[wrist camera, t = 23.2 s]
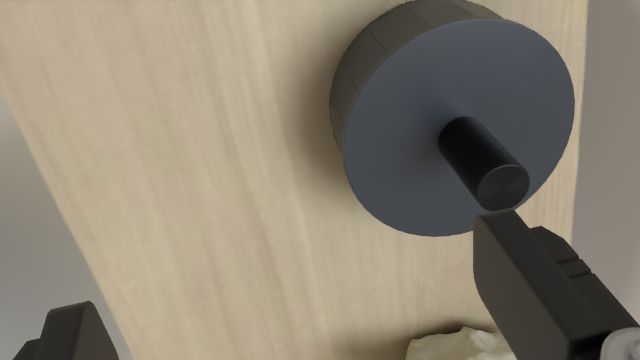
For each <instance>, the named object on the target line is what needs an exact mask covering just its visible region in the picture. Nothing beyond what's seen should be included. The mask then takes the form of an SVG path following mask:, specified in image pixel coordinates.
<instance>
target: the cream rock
mask: <svg viewBox="0 0 640 360" xmlns="http://www.w3.org/2000/svg"><path fill="white" fill-rule="evenodd" d="M405 360H517V358H516V357H515V355H514V353H513V352H512V350H511V348H510V347H509V345H508V343H507V342H506V340H505V338H504V336H503V335H502V334H500V333H487V332H485V331H481V330H474V329H472V328H468V327H462V328H461V330H460V331H459V332H457V333H452V334H445V335H444V334H440V333H438V334H436V335H429V336H425V337H423V338H422V339H412V340H411V341H410V344H409V346H408V349H407V356H406V358H405Z"/></svg>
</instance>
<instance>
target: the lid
mask: <svg viewBox="0 0 640 360" xmlns="http://www.w3.org/2000/svg"><path fill="white" fill-rule="evenodd" d="M574 108H575V99H574V89H573V85H572V81H571V77H570V74H569V72H568V69H567V67H566V65H565V62H564V61H563V59H562V58H561V56H560V55H559V53H558V52H557V50H556V49H555V48H554V47H553V46H552V45H551V44H550V43H549V42H548V41H547V40H546V39H544V38H543V37H542V36H540V35H539V34H538V33H536V32H535V31H533V30H531V29H529V28H527V27H526V26H524V25H522V24H520V23H516V22H513V21H510V20H507V19H503V18H497V17H491V16H472V17H463V18H456V19H453V20H449V21H445V22H441V23H438V24H436V25H433V26H431V27H428V28H426V29H423V30H422V31H420V32H418V33H416V34H414V35H412V36H410V37H409V38H407V39H406V40H404V41H403V42H401V43H400V44H399V45H397V46H396V47H394V48H393V49H392V50H391V51H390V52H389V53H388V54H386V55H385V56H384V57H383V58H382V59H381V60H380V61H379V62H378V63H377V64H376V66H375V67H374V68H373V69H372V70H371V71H370V72H369V74H368V75H367V77H366V78H365V80H364V81H363V82H362V84H361V85H360V87H359V89H358V91H357V93H356V95H355V96H354V98H353V100H352V103H351V105H350V108H349V111H348V113H347V116H346V120H345V124H344V129H343V137H342V159H343V164H344V169H345V173H346V176H347V179H348V181H349V184H350V186H351V188H352V190H353V192H354V194H355V196H356V197H357V199H358V200H359V201H360V203H361V204H362V205H363V207H364V208H365V209H366V210H367V211H368V212H369V213H371V214H372V215H373V216H374V217H375V218H377V219H378V220H380V221H381V222H382V223H384V224H386V225H388V226H390V227H392V228H394V229H396V230H399V231H402V232H405V233H409V234H414V235H419V236H432V237H437V236H450V235H457V234H462V233H466V232H470V231H473V222H474V218H475V216H477V215H481V214H485V213H490V212H494V211H499V210H503V209H508V208H511V209H513V210H515V209H517V208H518V207H519V206H521V205H522V204H523V203H524V202H526V201H527V200H528V199H529V198H530V197H531V196H532V195H533V194H534V193H535V192H536V191H537V190H538V189H539V188H540V187H541V186H542V185H543V184H544V182H545V181H546V180H547V179H548V177H549V176H550V174H551V173H552V172H553V170H554V169H555V167H556V165H557V164H558V162H559V160H560V159H561V157H562V155H563V152H564V150H565V148H566V146H567V143H568V140H569V137H570V134H571V130H572V125H573V120H574Z"/></svg>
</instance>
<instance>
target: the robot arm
mask: <svg viewBox="0 0 640 360" xmlns="http://www.w3.org/2000/svg"><path fill="white" fill-rule="evenodd" d="M473 273H474V279H475V284H476V287H477V290H478V293H479V295H480V297H481V299H482V301H483V303H484V304H485V306H486V308H487V309H488V311H489V313H490V315H491V316H492V318H493V320H494V321H495V323H496V325H497V326H498V328H499V330H500V331H501V333H502V335H503V336H504V338H505V340H506V342H507V343H508V345H509V347H510V348H511V350H512V352H513V353H514V355H515V357H516V358H517V360H640V325H639V324H638V323H637V322H636V321H635V320H634V319H633V317H632V316H631V315H630V314H629V313H628V312H627V311H626V309H625V308H624V307H623V306H622V305H621V304H620V303H619V302H618V300H617V299H616V298H615V297H614V296H613V295H612V293H611V292H610V291H609V290H608V289H607V288H606V287H605V286H604V284H603V283H602V282H601V281H600V280H599V279H598V277H597V276H596V275H595V274H594V273H593V274H592V273H591V269H590V268H589V267H588V266H587V265H586V264H585V263H584V261H583V260H582V259H579V256H578V254H577V253H576V252H575V251H574V250H573V249H572V248H571V246H570V245H569V244H568V243H567V242H566V241H565V240H564V239H563V238H562V237H560V236H558V235H556V234H555V233H553V232H551V231H549V230H548V229H546V228H544V227H542V226H539V227H534V228H530V229H529V228H528V226H527V225H526V224H525V223H524V222H523V220H522V219H521V218H520V217H519V215H518V214H517V213H516V212H515V211H514V210H513V209H511V208H508V209H503V210H499V211H494V212H490V213H485V214H481V215H477V216H475V218H474V222H473ZM13 360H119V358H118V354H117V352H116V349H115V347H114V345H113V343H112V341H111V339H110V337H109V335H108V333H107V330H106V328H105V326H104V324H103V322H102V320H101V318H100V316H99V314H98V312H97V309H96V308H95V306H94V304H93V303H92V302H90V301H86V302H82V303H77V304H73V305H68V306H64V307H59V308H55V309H51V310H50V311H49V313H48V314H47V317H46V321H45V324H44V327H43V330H42V334H41V337H40V338H39V339H35V340H30V341H27V342H26V343H25V344H24V346H23V347H22V348H21V350H20V351H19V352H18V354H17V355H16V356H15V357H14V359H13Z"/></svg>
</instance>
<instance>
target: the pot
mask: <svg viewBox="0 0 640 360" xmlns="http://www.w3.org/2000/svg"><path fill="white" fill-rule="evenodd" d="M472 16H491V17H497V18H502V17H501V16H499V15H498V14H496V13H494V12H493V11H491V10H490V9H488V8H486V7H485V6H482V5H478V4H475V3H472V2H469V1H466V0H416V1H412V2H408V3H406V4H403V5H401V6H398V7H396V8H394V9H392V10H390V11H388V12H387V13H385V14H383V15H382V16H380V17H379V18H377V19H376V20H375V21H373V22H372V23H371V24H370V25H368V26H367V27H366V28H365V29H364V30H363V31H362V32H361V33H360V34H359V35H358V36H357V37H356V39H355V40H354V41H353V42H352V43H351V45H350V46H349V48H348V49H347V51H346V52H345V54H344V55H343V57H342V59H341V61H340V63H339V65H338V67H337V70H336V73H335V76H334V79H333V82H332V87H331V92H330V100H329V107H330V119H331V124H332V128H333V135H334V139H335V141H336V143H337V146H338V148H339V150H340V153H341V155H342V137H343V129H344V124H345V120H346V116H347V113H348V111H349V108H350V105H351V103H352V100H353V98H354V96H355V95H356V93H357V91H358V89H359V87H360V85H361V84H362V82H363V81H364V80H365V78H366V77H367V75H368V74H369V72H370V71H371V70H372V69H373V68H374V67H375V66H376V64H377V63H378V62H379V61H380V60H381V59H382V58H383V57H384V56H385V55H386V54H388V53H389V52H390V51H391V50H392V49H393V48H394V47H396V46H397V45H399V44H400V43H401V42H403V41H404V40H406V39H407V38H409V37H410V36H412V35H414V34H416V33H418V32H420V31H422V30H423V29H426V28H428V27H431V26H433V25H436V24H438V23H441V22H445V21H449V20H453V19H456V18H463V17H472ZM503 19H504V18H503Z"/></svg>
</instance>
